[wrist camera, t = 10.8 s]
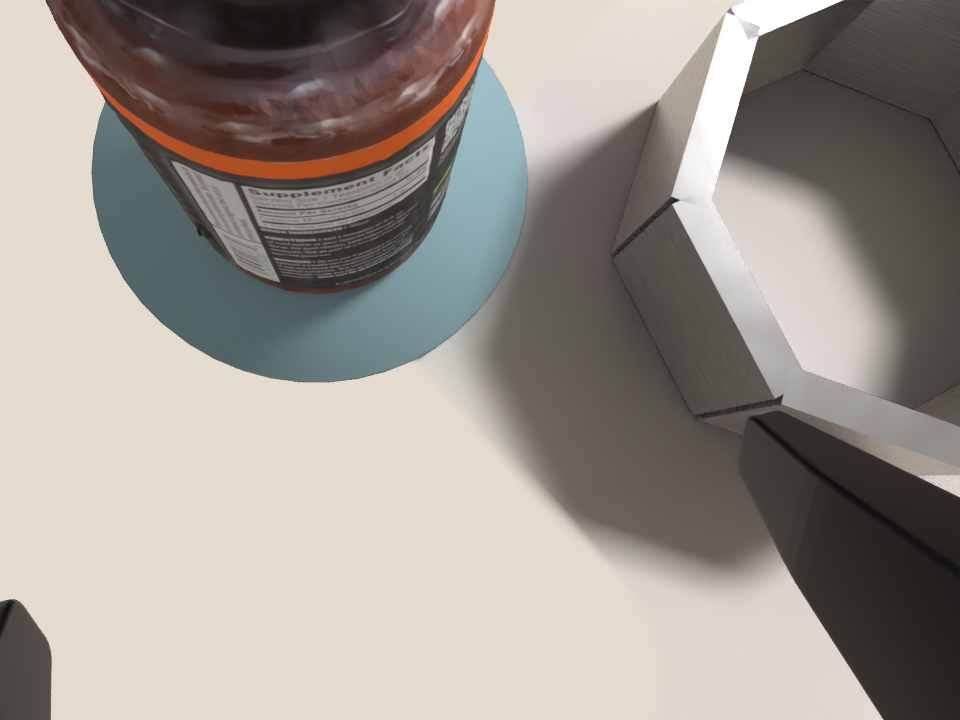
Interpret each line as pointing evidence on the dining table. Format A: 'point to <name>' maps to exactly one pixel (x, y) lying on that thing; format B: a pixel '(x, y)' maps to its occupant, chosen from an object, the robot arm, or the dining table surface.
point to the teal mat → (333, 316)
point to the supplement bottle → (292, 120)
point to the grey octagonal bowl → (715, 257)
